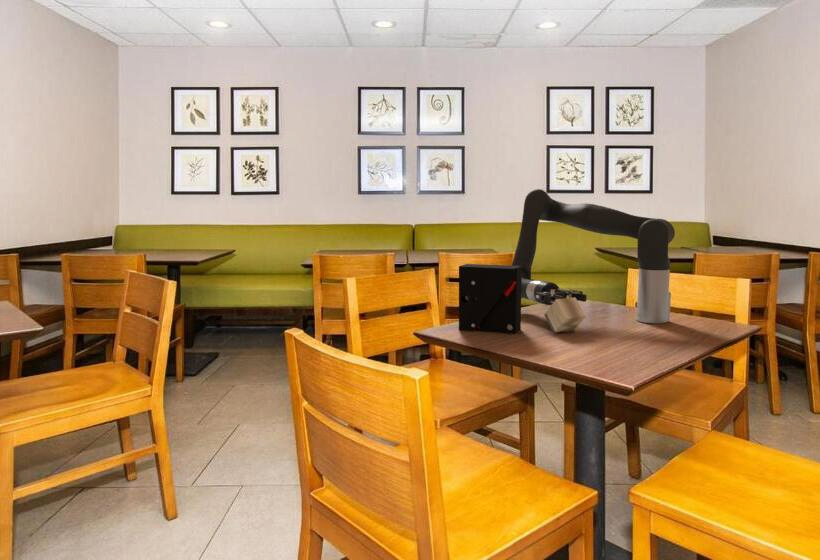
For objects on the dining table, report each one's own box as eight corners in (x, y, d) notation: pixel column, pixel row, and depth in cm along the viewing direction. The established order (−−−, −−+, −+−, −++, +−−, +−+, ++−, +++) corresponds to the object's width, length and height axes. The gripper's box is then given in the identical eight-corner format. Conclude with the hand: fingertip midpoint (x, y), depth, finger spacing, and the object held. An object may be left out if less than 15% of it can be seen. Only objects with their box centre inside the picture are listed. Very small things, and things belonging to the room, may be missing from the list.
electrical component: (522, 328, 172) (523, 265, 170) (514, 336, 163) (515, 268, 160) (468, 324, 180) (469, 263, 177) (458, 330, 170) (458, 266, 168)
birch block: (563, 312, 172) (575, 297, 166) (573, 331, 168) (585, 316, 162) (544, 314, 169) (555, 299, 163) (553, 333, 165) (566, 318, 159)
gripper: (524, 282, 180) (554, 288, 165) (560, 279, 185) (593, 285, 170) (524, 305, 180) (554, 313, 166) (560, 301, 186) (592, 309, 171)
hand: (574, 299), depth 168 cm, fingers open, 8 cm apart
